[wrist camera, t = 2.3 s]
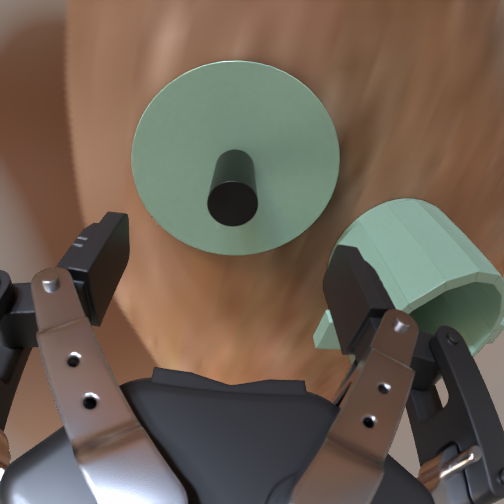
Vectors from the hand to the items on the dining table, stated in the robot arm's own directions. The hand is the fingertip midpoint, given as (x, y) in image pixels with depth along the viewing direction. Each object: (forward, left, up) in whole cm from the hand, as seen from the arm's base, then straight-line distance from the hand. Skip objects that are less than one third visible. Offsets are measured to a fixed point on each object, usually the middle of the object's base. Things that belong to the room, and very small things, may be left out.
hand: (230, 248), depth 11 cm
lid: (0, 0, -9) cm, 9 cm away
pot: (+6, +15, -10) cm, 19 cm away
